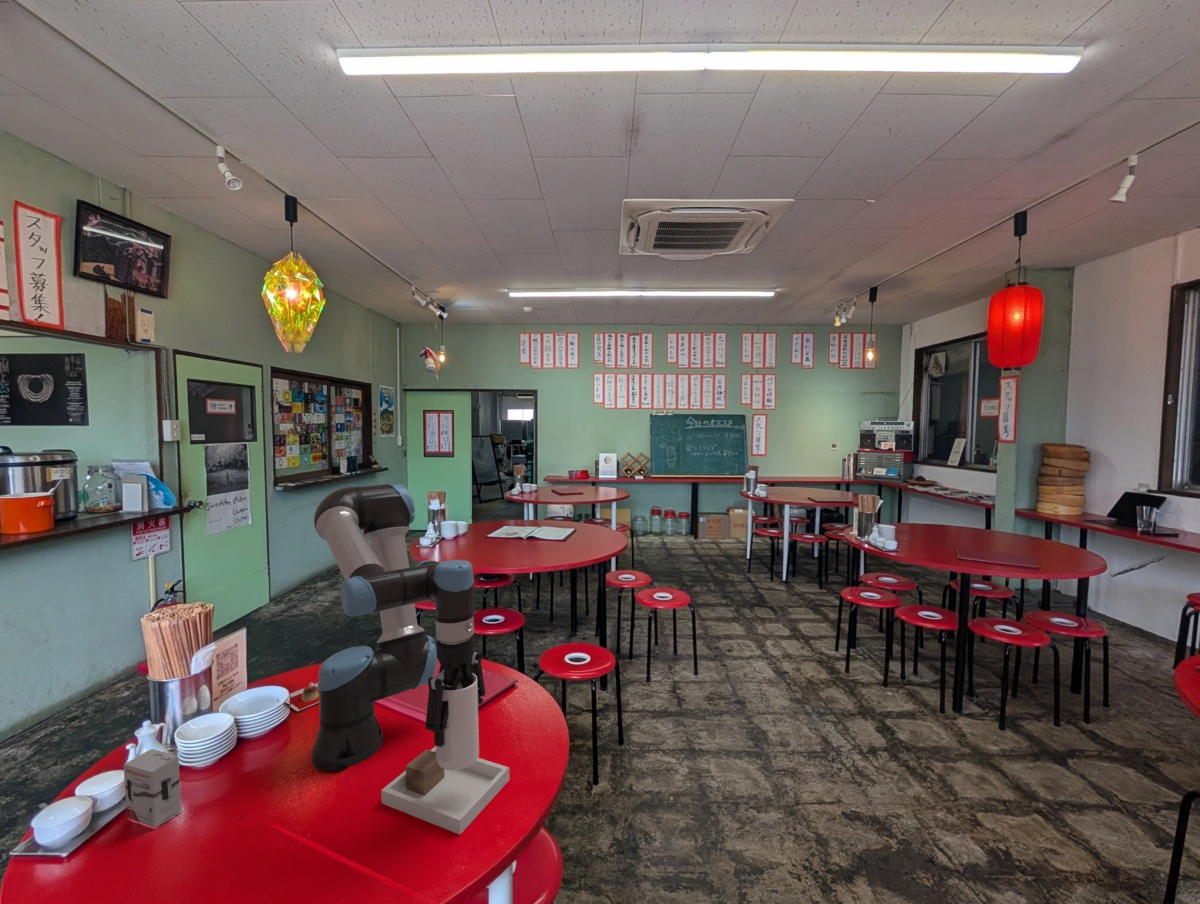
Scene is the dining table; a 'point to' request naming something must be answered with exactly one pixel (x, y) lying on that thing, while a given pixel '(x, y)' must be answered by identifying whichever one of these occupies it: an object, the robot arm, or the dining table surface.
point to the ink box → (152, 787)
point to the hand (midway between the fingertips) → (458, 746)
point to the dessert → (306, 695)
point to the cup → (462, 726)
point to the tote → (450, 795)
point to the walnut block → (423, 773)
